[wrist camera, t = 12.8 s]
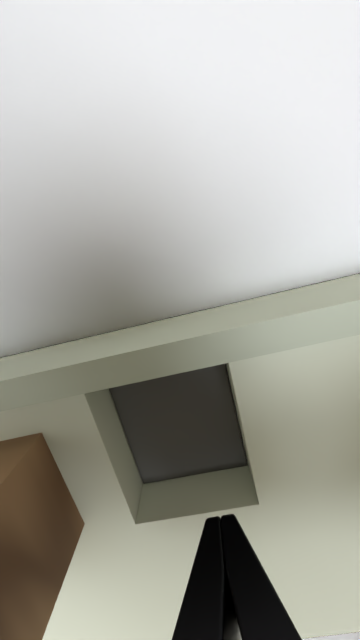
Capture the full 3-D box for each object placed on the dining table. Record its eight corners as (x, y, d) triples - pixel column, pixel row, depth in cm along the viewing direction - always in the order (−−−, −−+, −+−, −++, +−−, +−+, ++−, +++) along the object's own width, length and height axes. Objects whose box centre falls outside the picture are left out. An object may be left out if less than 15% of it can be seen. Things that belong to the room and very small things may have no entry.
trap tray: (400, 569, 14) (452, 650, 11) (-31, 627, 16) (-75, 705, 13) (389, 266, 9) (471, 274, 7) (-192, 402, 12) (-306, 450, 9)
